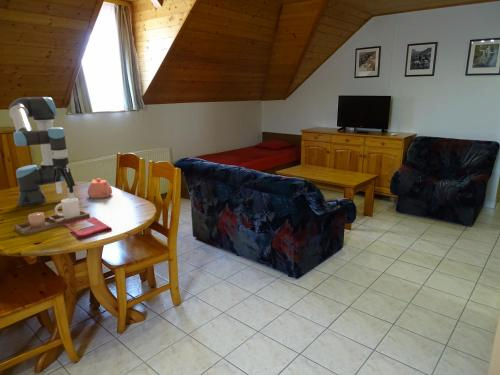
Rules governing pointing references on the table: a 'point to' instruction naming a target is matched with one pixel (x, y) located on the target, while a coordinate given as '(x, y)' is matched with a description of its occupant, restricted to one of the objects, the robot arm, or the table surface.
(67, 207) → the mug
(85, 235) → the dish towel
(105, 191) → the teapot
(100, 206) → the table surface
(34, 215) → the peach rounded cylinder
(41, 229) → the caddy
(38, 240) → the table surface
